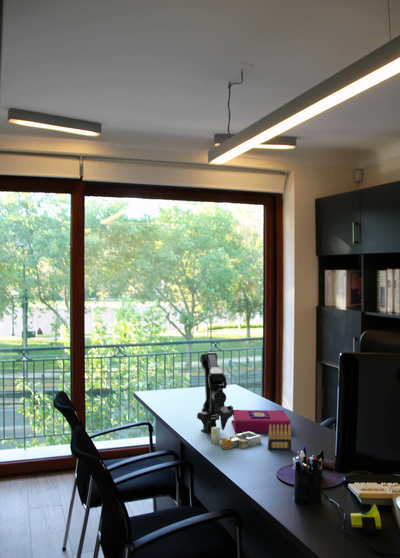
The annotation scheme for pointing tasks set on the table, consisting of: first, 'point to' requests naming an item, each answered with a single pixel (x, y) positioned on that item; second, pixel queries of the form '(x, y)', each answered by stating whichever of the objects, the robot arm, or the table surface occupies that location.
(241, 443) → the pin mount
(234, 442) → the pin
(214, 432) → the cream tapered cylinder
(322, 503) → the table surface
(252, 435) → the socket
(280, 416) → the book
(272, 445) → the ammunition clip
